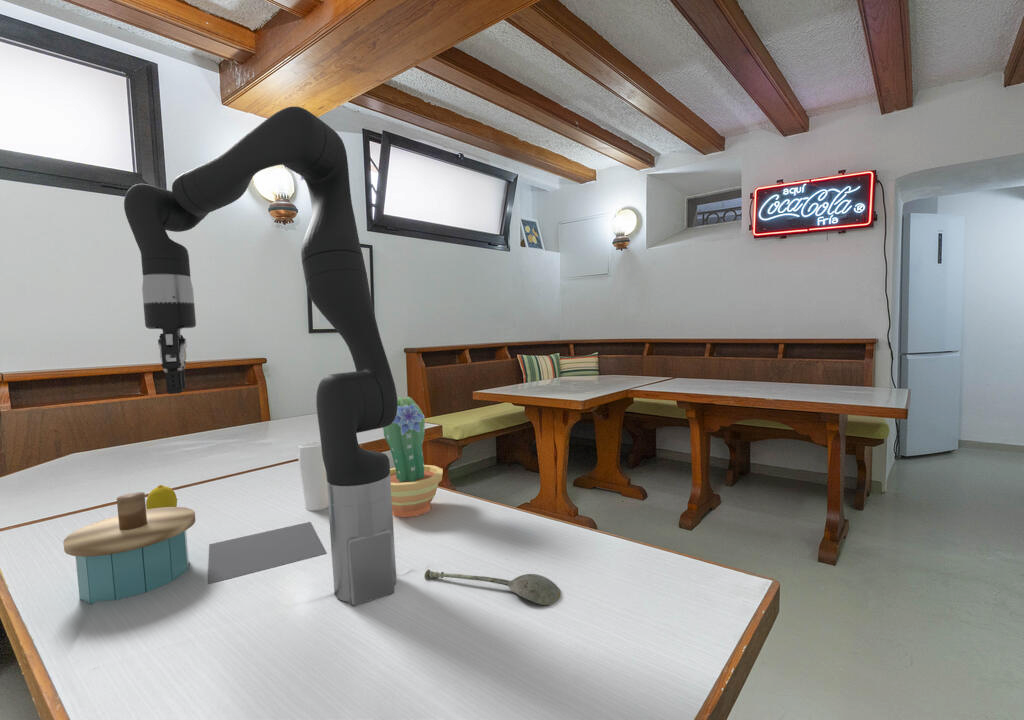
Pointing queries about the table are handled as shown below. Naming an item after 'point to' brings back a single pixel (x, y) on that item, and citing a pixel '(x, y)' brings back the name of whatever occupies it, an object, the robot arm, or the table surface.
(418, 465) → the potted cactus
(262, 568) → the mat
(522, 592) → the soupspoon
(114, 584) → the bowl
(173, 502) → the lemon
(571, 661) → the table surface
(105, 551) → the lid
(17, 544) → the table surface
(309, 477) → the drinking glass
